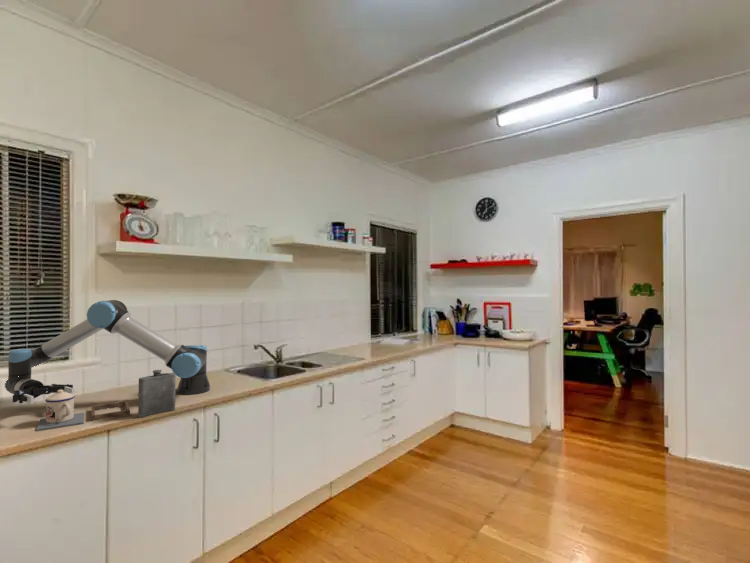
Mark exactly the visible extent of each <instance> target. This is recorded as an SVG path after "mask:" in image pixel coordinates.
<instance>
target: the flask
mask: <svg viewBox="0 0 750 563" xmlns="http://www.w3.org/2000/svg"><path fill="white" fill-rule="evenodd" d="M152 373H153V375H148V376H142V377H138V398H137V400H138V402H137V403H138V407H137V408H138V410H137V411H138V412H137V413H138V414H137V415H138V419H141V418H142V419H143V418H146V417H150V416H153V415H158V414H163V413H167V412H174V411H176V377H177V376H176V373H173V372H169V373H168V372H165V373H164V372H163V373H162V369H153V370H152Z"/></svg>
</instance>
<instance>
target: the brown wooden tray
mask: <svg viewBox="0 0 750 563" xmlns="http://www.w3.org/2000/svg"><path fill="white" fill-rule="evenodd" d="M115 407H116V408H123V407H124V409H125V410H119V411H111V412H106V413H99V414H96V413H95V412H96V411H101V410H100V409H102V410H108V409H107V408H109V409H115ZM127 415H128V416H131V410H130V405H129V402H128V400H124V401H117V402H116V401H115V402H110V403H102V404H94V405H91V422H94V420H95V421H99V420H100V419H102V420H108V419H114V418H113V417H115V418H121V417H125V416H126V417H128V416H127ZM120 416H121V417H120ZM107 418H108V419H107Z"/></svg>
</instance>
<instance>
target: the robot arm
mask: <svg viewBox="0 0 750 563" xmlns="http://www.w3.org/2000/svg"><path fill="white" fill-rule="evenodd" d="M101 330H105V331H107V332H108V333H110V334H112V335H113V334H119V335H120V336H122V337H124V338H126V339H127V340H129V341H130V342H133V343H134V344H135V345H137V346H139V347H141V348H142V349H145V351H147V352H150V353H151V354H153V356H156V357H158V358H159V359H161V360H162V361H164V365H165V366H166V367H167V368H169V369H171V370H172V373H176V377H179V378H180V379H179V382H178V385H177V388H176V389H177V392H176V393H177V394H181V395H196V394H197V395H198V394H202V393H206V392H208V391H210V390H211V385H210V380H209V378H208V375H207V364H208V362H207V361H208V360H207V356H208V354H207V353H208V349H207V346H206V345H205V344H200V345H199V344H198V345H197V344H196V345H194V344H193V345H184V344H176V343H174V342H172V341H171V340H169V339H167V338H166V337H164V336H163V335H160V334H159V333H158V332H156V331H155V330H153V329H152V328H149V327H148V326H146V325H145V324H143V323H141V322H139V321H138V320H136V319H134V318H133V317H132V316H131V312H130V311H128V307H127V306H126V304H125V303H124V302H122V301H120V300H117V299H110V300H100V301H97V302H94V303H93V304H92V305H90V307H89V308H88V309H87V312H86V319H85V320H84V321H82V322H81V321H80V323H78V324H76V325H75V326H73V327H71V328H70V329H68V330H66V331H64V332H63V333H60V334H59V335H57V336H55V337H54V338H51V339H49V340H48V341H46V342H44V343H43V344H41V345H40V347H39V346H38V347H36V348H37V349H36V348H35V349H36V350H34V349H33V350H32V349H30V348H17V349H12V350H10V351H9V352H8V358H7V359H8V361H7V362H8V363H7V364H8V372H7V373H8V375H7V376H8V377H7V379H8V380H7V379H6V380H7V381H6V380H5V382H6V383H5V382H4V385H5V386H4V389H5V388H6V389H5V390H6V391H7V392H8V393H10V394H12V403H16V402H18V404H23V403H24V402H25V403H27V404H30V405H32V404H34V402H35V401H34V399H37V398H38V397H40V396H42V395H49V394H55V393H57V391H58V390H64V392H67V393H71V394H74V395H75V388H74V385H73V384H68V383H67V384H57V383H52V384H51V385H48V384H46V385H45V384H44V383H43V382H42V381H40V380H37V379H33V378H32V368H34V366H35V367H38V366H40V365H39V364H41V363H42V362H44V361H47V360H49V361H50V360H51V358H52V359H53V358H55V357H56V356H58V355H60V354H61V353H63V352H65V351H67V350H68V349H70V348H72V347H74V346H76V345H77V344H79V343H81V342H82V341H84V340H86V339H88V338H89V337H91V336H93V335H95V334H96V333H98V332H100V331H101ZM37 365H38V366H37ZM18 376H19V377H18Z"/></svg>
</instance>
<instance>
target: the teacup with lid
mask: <svg viewBox="0 0 750 563" xmlns="http://www.w3.org/2000/svg"><path fill="white" fill-rule="evenodd" d="M45 402H46V403H45V418H46V422H47V423H60V422H65V421H68V420H71V419H72V418H73V417H74V414H75V411H74V410H75V393H74V394H71V393H67V392H64V390H58V391H57V393H52V395H49V396H47V397H46V398H45Z"/></svg>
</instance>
